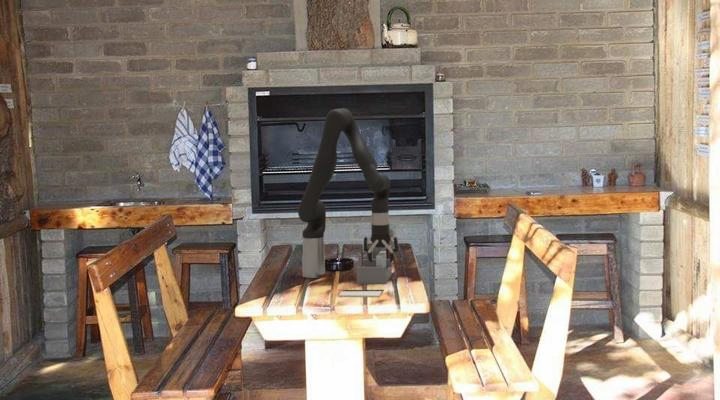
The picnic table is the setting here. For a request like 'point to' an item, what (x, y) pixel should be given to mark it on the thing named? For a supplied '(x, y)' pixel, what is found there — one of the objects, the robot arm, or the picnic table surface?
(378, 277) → the rack
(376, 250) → the decorative stone tablet
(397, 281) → the picnic table surface
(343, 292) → the mat
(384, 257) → the grey flat slab
